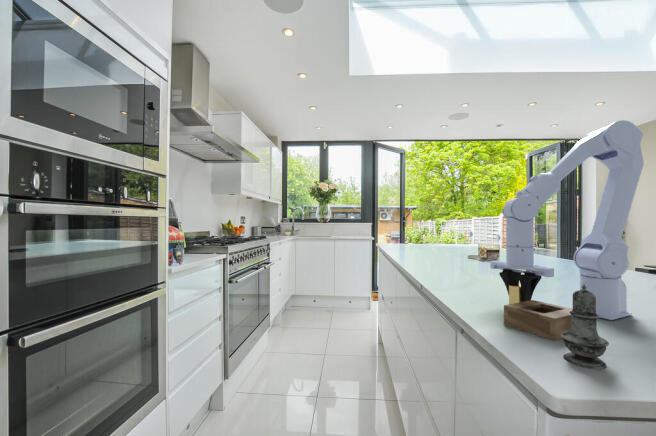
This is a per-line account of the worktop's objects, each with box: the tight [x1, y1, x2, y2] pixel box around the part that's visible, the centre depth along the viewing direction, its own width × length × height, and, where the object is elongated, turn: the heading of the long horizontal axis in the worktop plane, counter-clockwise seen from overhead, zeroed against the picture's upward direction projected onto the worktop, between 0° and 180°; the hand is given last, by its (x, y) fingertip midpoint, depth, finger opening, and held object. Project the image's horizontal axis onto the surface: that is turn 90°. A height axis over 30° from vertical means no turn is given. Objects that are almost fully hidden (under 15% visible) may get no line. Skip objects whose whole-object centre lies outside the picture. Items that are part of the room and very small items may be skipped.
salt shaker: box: [561, 285, 610, 370], centre depth 50 cm, size 6×6×12 cm
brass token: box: [508, 283, 522, 304], centre depth 78 cm, size 4×2×6 cm, turn 116°
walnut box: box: [503, 299, 573, 341], centre depth 65 cm, size 10×10×4 cm
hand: (519, 302), depth 78 cm, fingers closed on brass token, 2 cm apart
